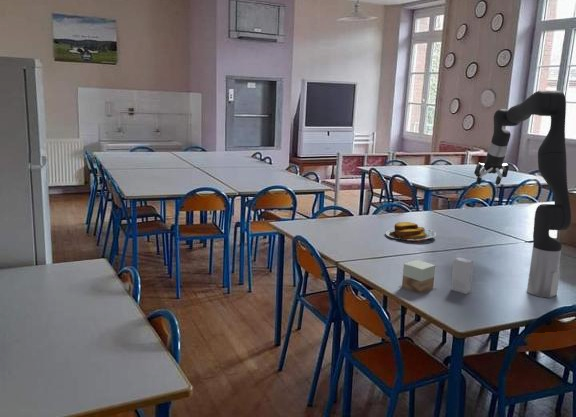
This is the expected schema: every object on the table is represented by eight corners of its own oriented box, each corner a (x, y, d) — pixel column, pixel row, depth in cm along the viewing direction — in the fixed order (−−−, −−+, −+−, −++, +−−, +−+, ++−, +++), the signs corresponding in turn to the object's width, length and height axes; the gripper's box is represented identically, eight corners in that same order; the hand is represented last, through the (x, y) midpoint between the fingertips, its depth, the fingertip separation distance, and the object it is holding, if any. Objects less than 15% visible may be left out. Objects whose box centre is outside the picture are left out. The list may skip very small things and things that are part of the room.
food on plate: (430, 247, 253) (431, 233, 252) (379, 239, 264) (379, 226, 262) (440, 235, 276) (441, 222, 274) (393, 228, 286) (393, 216, 285)
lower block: (433, 288, 196) (434, 277, 195) (420, 293, 191) (421, 281, 190) (414, 282, 202) (415, 271, 201) (401, 286, 197) (402, 275, 196)
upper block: (434, 277, 195) (435, 265, 194) (421, 281, 190) (422, 269, 189) (415, 271, 201) (416, 259, 200) (402, 275, 196) (403, 263, 195)
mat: (436, 289, 196) (436, 288, 196) (420, 295, 189) (420, 294, 189) (414, 282, 203) (414, 281, 203) (397, 287, 197) (398, 286, 197)
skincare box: (471, 292, 195) (474, 260, 192) (465, 295, 192) (469, 262, 189) (455, 287, 199) (458, 256, 197) (449, 290, 196) (453, 258, 193)
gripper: (484, 155, 233) (475, 187, 241) (515, 156, 233) (505, 188, 242) (478, 148, 239) (469, 179, 248) (509, 149, 240) (499, 180, 248)
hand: (487, 184), depth 245 cm, fingers open, 8 cm apart
